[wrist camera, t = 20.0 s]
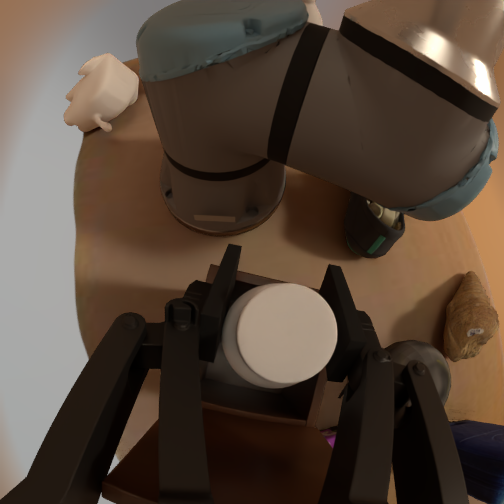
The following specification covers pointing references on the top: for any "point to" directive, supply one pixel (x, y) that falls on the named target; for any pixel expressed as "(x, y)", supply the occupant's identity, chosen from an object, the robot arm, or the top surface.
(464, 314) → the seashell
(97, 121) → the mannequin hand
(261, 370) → the pill bottle
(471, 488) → the blue rectangular carton
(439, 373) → the decorative stone
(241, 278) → the chest
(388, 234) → the ballet flat
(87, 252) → the top surface
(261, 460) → the lid
